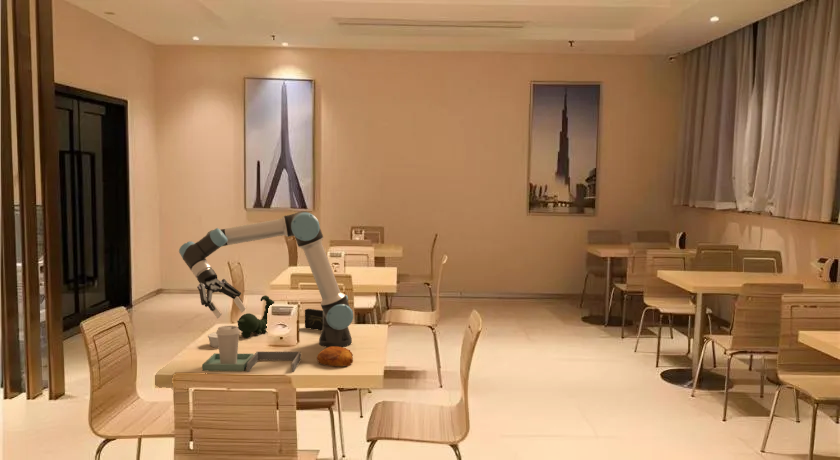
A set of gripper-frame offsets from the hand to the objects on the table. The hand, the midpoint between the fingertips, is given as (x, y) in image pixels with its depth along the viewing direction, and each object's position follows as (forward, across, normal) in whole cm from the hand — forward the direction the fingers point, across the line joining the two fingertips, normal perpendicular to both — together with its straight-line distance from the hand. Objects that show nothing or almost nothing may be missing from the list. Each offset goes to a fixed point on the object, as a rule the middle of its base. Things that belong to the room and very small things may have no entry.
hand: (232, 313), depth 277 cm
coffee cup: (+14, 0, -17) cm, 22 cm away
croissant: (+40, -26, +8) cm, 48 cm away
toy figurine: (-5, -45, -37) cm, 59 cm away
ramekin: (-5, -22, -36) cm, 42 cm away
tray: (+14, 0, -17) cm, 22 cm away
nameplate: (+11, -70, -21) cm, 74 cm away
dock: (+26, -9, -5) cm, 28 cm away
